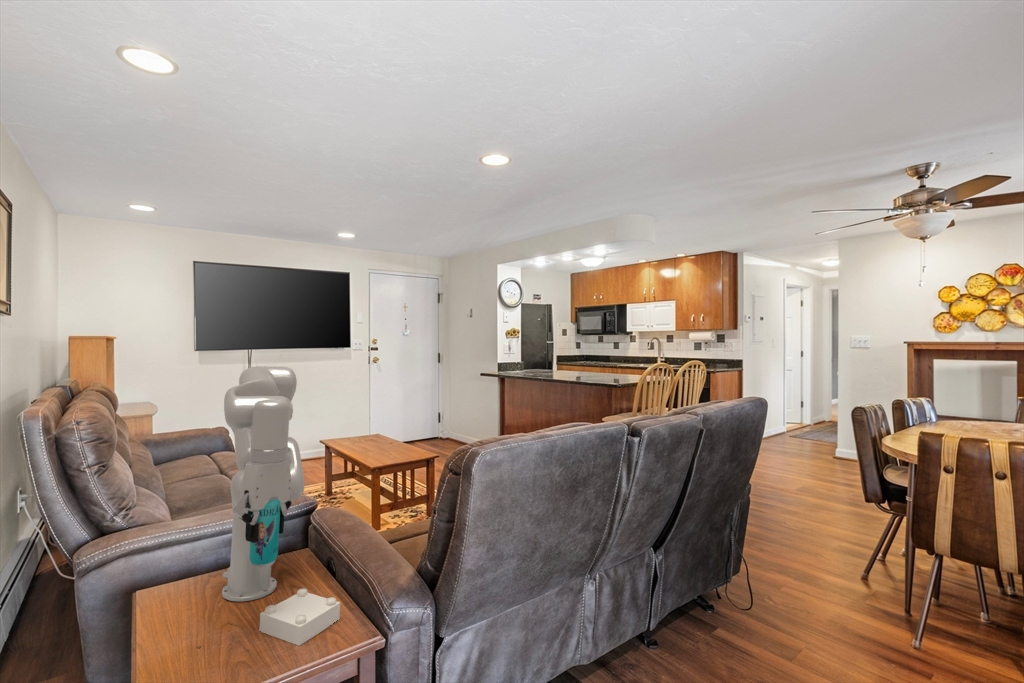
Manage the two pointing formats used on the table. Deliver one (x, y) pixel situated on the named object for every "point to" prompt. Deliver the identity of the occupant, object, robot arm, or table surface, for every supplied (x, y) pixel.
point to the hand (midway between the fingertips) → (264, 535)
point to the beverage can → (266, 535)
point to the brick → (299, 617)
